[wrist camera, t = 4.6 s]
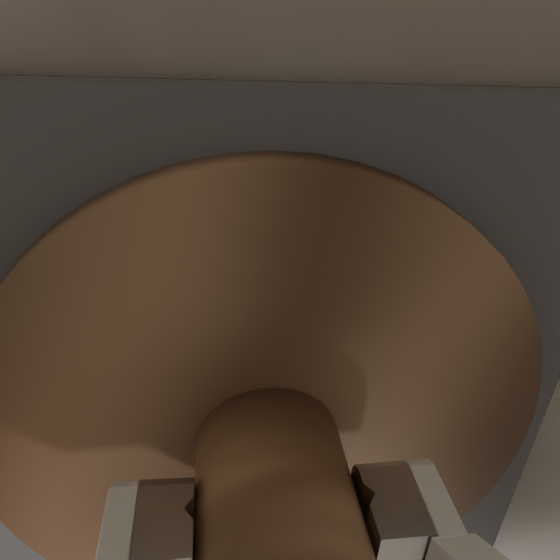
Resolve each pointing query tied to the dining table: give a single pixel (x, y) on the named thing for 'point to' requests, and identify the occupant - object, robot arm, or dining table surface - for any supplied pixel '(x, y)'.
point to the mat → (309, 139)
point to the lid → (257, 354)
